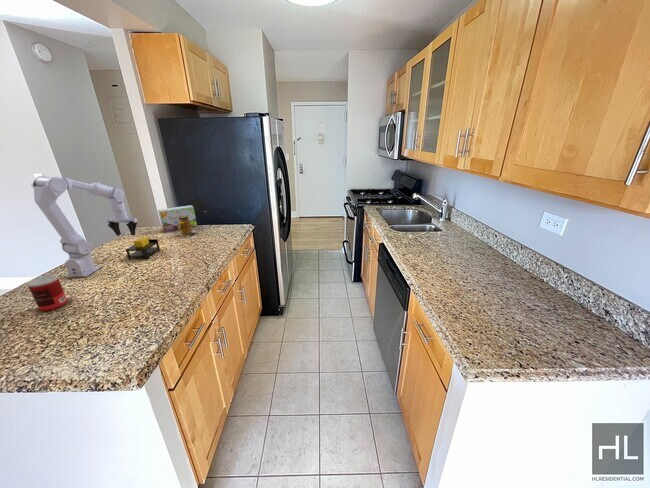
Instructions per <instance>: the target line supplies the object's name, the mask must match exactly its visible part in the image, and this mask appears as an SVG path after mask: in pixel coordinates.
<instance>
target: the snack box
mask: <svg viewBox="0 0 650 488" xmlns="http://www.w3.org/2000/svg"><path fill="white" fill-rule="evenodd" d="M157 212H158V216H159V221H160V225H161V230H162V231H163V232H164V233H168V232H173V231H178V230H179V231H180V230H181V228H180V223H179V222H180V221H179V218H180V217H184V216H187V217H188V219H189V221H190V225H191V228H194V227H198V224H197V218H196V212H195V207H194V205H192V204H191V205H184V206H176V207H169V208H161V209H160V208H159V209H157Z"/></svg>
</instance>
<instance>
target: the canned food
mask: <svg viewBox="0 0 650 488" xmlns="http://www.w3.org/2000/svg"><path fill="white" fill-rule="evenodd" d="M27 288H28V289H29V291H30V293H31V295H32V298H33V300H34V301H35V303H36V306H37V308H38V310H40V312H51V311H55V310H58V309H60V308H62V307H64V306H65V305H66V304H67V303H68V298H67V295H66V293H65V291H64V288H63V286H62V284H61V282H60V279H59V277H58V276H57V275H55V274H47V275H43V276H39V277H36V278H34V279H32V280H30V281H28V282H27Z"/></svg>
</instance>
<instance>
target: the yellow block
mask: <svg viewBox="0 0 650 488" xmlns="http://www.w3.org/2000/svg"><path fill="white" fill-rule="evenodd" d="M148 239H149V237H148V236H140V237H138V238H137V239H134V240H133V241H132V242H133V245H135V247H144V246H145V245H147V244H149V240H148Z"/></svg>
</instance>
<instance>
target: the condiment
mask: <svg viewBox="0 0 650 488" xmlns="http://www.w3.org/2000/svg"><path fill="white" fill-rule="evenodd" d="M179 221H180V222H179V223H180V228H181V229H180V232H181V234H179V236H180V237H186V238H188V237H190V236H193V235H196V234H197V232H194V231H193V230H192V227H191V225H190V221H189V219H188V217H187V216H184V217H180V218H179Z"/></svg>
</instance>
